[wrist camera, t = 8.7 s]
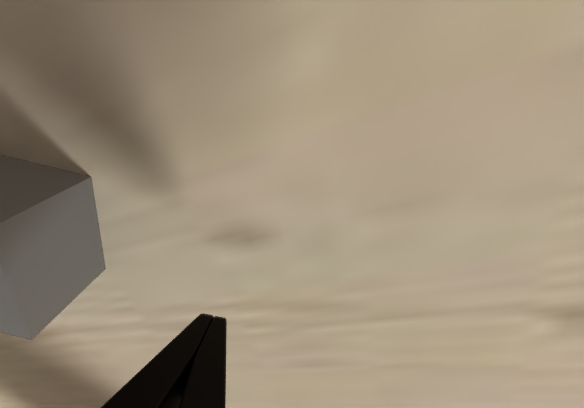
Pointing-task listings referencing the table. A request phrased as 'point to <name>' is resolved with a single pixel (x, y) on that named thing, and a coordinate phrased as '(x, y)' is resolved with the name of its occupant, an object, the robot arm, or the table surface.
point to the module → (44, 243)
